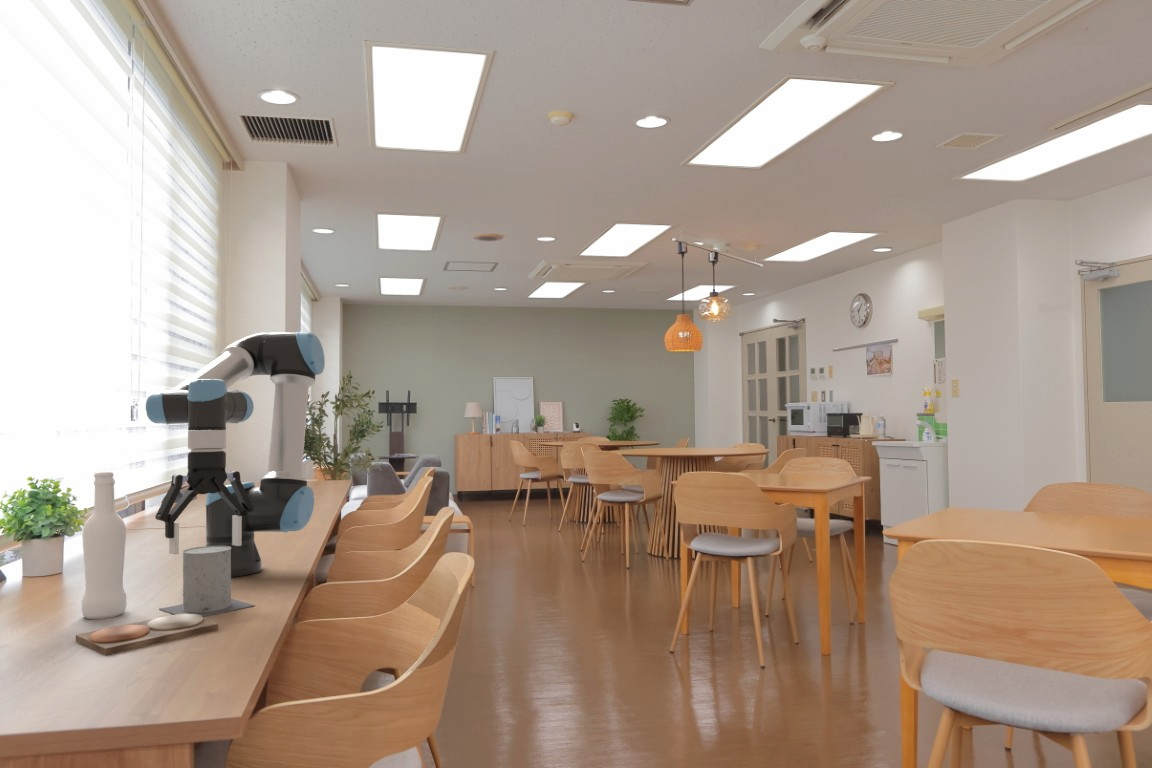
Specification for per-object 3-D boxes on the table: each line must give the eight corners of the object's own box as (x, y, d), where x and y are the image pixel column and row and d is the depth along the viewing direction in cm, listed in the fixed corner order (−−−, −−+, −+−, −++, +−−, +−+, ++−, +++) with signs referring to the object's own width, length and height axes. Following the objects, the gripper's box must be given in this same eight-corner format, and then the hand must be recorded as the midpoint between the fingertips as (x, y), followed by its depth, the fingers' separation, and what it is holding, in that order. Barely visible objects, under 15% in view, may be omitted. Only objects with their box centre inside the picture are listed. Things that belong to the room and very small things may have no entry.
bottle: (135, 611, 170) (135, 470, 171) (101, 621, 163) (101, 473, 164) (106, 608, 173) (106, 469, 174) (72, 618, 165) (72, 472, 166)
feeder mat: (223, 597, 182) (223, 596, 182) (254, 606, 173) (254, 605, 173) (159, 609, 172) (159, 608, 172) (189, 620, 163) (189, 619, 163)
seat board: (184, 618, 164) (185, 609, 164) (218, 629, 155) (218, 620, 155) (75, 641, 149) (75, 631, 149) (105, 655, 140) (105, 645, 140)
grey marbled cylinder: (212, 613, 167) (212, 554, 167) (172, 611, 169) (172, 553, 169) (240, 602, 176) (240, 546, 177) (202, 600, 178) (202, 545, 179)
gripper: (252, 448, 185) (252, 540, 185) (138, 452, 166) (137, 555, 165) (269, 448, 181) (269, 543, 180) (154, 453, 161) (153, 559, 161)
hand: (206, 549), depth 173 cm, fingers open, 13 cm apart
